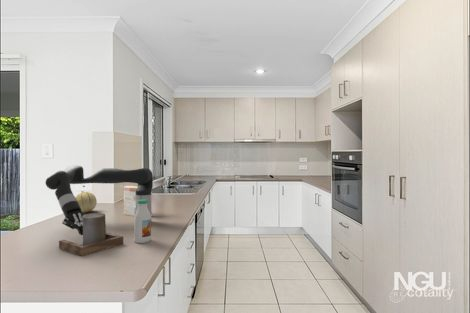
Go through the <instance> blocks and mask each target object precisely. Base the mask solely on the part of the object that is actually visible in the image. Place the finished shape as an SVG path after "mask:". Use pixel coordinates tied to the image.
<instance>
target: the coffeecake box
mask: <svg viewBox="0 0 470 313" xmlns="http://www.w3.org/2000/svg"><path fill="white" fill-rule="evenodd" d="M137 187H138V185H125V186H123V215H127V216H132V217H135V207H136V189H137Z"/></svg>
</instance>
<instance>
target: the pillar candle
mask: <svg viewBox="0 0 470 313" xmlns="http://www.w3.org/2000/svg"><path fill="white" fill-rule="evenodd" d="M82 217H83V235H82V245H83V246H84V245H88V244H92V243H96V242H99V241H103V240H106V232H107V231H106V224H107V223H106V214H105V213H104V212H103V213H102V212H93V213H86V214H84V216H82Z"/></svg>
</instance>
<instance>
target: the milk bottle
mask: <svg viewBox="0 0 470 313" xmlns="http://www.w3.org/2000/svg"><path fill="white" fill-rule="evenodd" d="M147 204H148V200H146V199H142V200H138V209H137V212H136V214H135V216H134V222H133V223H134V225H133V227H134V228H133V229H134V230H133V233H134V235H133V236H134V237H133V239H134V240H133V241H134V242H135V243H137V244H144V243H149V242H151V240H152V214H151V215H150V212H149V210H148V207H147Z"/></svg>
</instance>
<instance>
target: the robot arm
mask: <svg viewBox="0 0 470 313" xmlns="http://www.w3.org/2000/svg"><path fill="white" fill-rule="evenodd" d="M84 175H85V174H84V167H83V166H82V165H71V166H67V167H66V168H65V169H64V170H58V171H56V172H55V173H53V174H51V175H50V176H49V177H47V178H46V180H45V185H46V187H47V188H48V189H49V190H51V191H52V190H53V191H54V190H55V192H54V195H55V197H56V199H57V201H58V204H59V207H60V209H61V211H62V214H63V215H64V218H63V220H62V222H61V224H62V225H64V226H66V227H68V228H70V229H72V230H74V229H75V230H77V232H78V234H79V235H80V236H83V217H82V216H84V215H85V213H84V212H82V211H81V208H80V206H79V204H78V202H77V200H76V198H75V197H76V196H75V195H74V193H73V190H72V189H71V185H79V184H80V185H81V184H121V183H122V184H123V183H131V184H137V186H138V187H137V189H136V207H135V214H136V212H137V209H138V200H142V199H146V200H148V204H147V207H148V210H149V212H150V215H151V216H152V191H153V186H154V184H153V181H154V176H153V172H152V170H151V169H149V168H147V167H141V168H138V169H121V168H120V169H119V168H114V167H113V168H110V167H109V168H107V167H106V168H102V169H100V170H98V171H97V172H95V173H93V174H92V175H90V176H87V177H85V176H84ZM84 177H85V178H84Z"/></svg>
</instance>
